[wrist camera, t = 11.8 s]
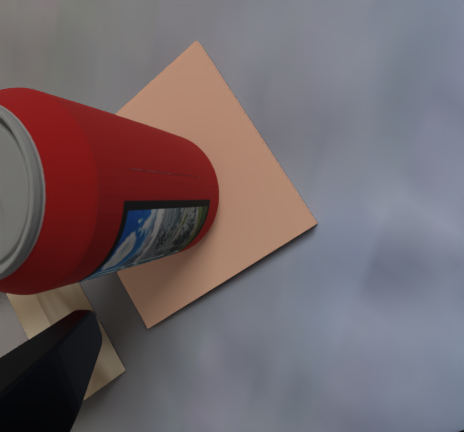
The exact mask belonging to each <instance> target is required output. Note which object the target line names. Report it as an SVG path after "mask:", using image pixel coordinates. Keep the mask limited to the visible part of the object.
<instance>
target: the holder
mask: <svg viewBox="0 0 464 432" xmlns="http://www.w3.org/2000/svg"><path fill="white" fill-rule="evenodd" d="M6 294H7V296H8V298H9V300H10V302H11V304H12V306H13V308H14V310H15V312H16V314H17V316H18V318H19V320H20V322H21V324H22V326H23V328H24V330H25V332H26V334H27V336H28V338H29V339H31V338H32V337H34V336H35V335H37V334H39V333H40V332H42V331H43V330H45V329H46V328H48V327H49V326H51V325H53V324H54V323H56V322H57V321H59V320H60V319H62V318H64V317H65V316H67V315H68V314H70V313H71V312H73V311H75V310H79V309H81V310H93V308H92V306H91V304H90V303H89V301H88V299H87V297H86V295H85V293H84V291H83V289H82V288H81V286H80V284H79V282H78V283H74V284H71V285H67V286H63V287H60V288H56V289H53V290H49V291H45V292H42V293H38V294H33V295H15V294H9V293H6ZM93 311H94V310H93ZM97 320H98V323H99V326H100V330H101V333H102V346H101V349H100V352H99V355H98V358H97V361H96V364H95V367H94V370H93V373H92V376H91V379H90V382H89V385H88V388H87V391H86V394H85V397H84V400H85V399H86V398H88V397H89V396H91V395H92V394H94V393H95V392H96V391H98V390H99V389H101V388H102V387H103V386H105V385H106V384H108V383H109V382H110V381H112V380H113V379H115V378H116V377H117V376H119V375H120V374H122V373H123V372H124V371H126V370H125V368H124V366H123V364H122V363H121V361H120V359H119V357H118V355H117V353H116V351H115V349H114V348H113V346H112V344H111V342H110V340H109V338H108V336H107V334H106V333H105V331H104V329H103V327H102V325H101V323H100V321H99V319H98V318H97Z"/></svg>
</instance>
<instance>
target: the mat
mask: <svg viewBox="0 0 464 432" xmlns="http://www.w3.org/2000/svg"><path fill="white" fill-rule="evenodd" d="M115 115H118V116H121V117H124V118H127V119H130V120H133V121H136V122H139V123H142V124H145V125H148V126H151V127H154V128H157V129H160V130H163V131H166V132H169V133H172V134H175V135H178V136H181V137H183V138H186V139H188V140H189V141H191V142H193V143H194V144H196V145H197V146H198V147H199V148H200V149H201V150H202V151H203V152H204V153H205V154H206V156H207V157H208V159H209V160H210V162H211V164H212V165H213V168H214V170H215V173H216V176H217V179H218V185H219V204H218V210H217V214H216V217H215V219H214V222H213V224H212V226H211V227H210V229H209V231H208V232H207V233H206V235H205V236H204V237H203V238H202V239H201V240H200V241H199V242H198V243H197V244H195V245H194V246H193V247H191V248H189V249H187V250H185V251H182V252H179V253H176V254H173V255H170V256H167V257H164V258H161V259H157V260H154V261H151V262H147V263H144V264H141V265H137V266H134V267H131V268H127V269H124V270H120V271H117V274H118V276H119V278H120V279H121V281H122V283H123V285H124V287H125V289H126V290H127V292H128V294H129V296H130V298H131V299H132V301H133V303H134V305H135V307H136V308H137V310H138V312H139V314H140V316H141V317H142V319H143V321H144V323H145V325H146V327H147V328H148V329H149V328H150V327H152V326H154V325H155V324H157V323H158V322H160V321H162V320H163V319H165V318H166V317H168V316H170V315H171V314H173V313H175V312H176V311H178V310H179V309H181V308H183V307H184V306H186V305H187V304H189V303H191V302H192V301H194V300H195V299H197V298H199V297H200V296H202V295H203V294H205V293H207V292H208V291H210V290H212V289H213V288H215V287H216V286H218V285H220V284H221V283H223V282H224V281H226V280H228V279H229V278H231V277H232V276H234V275H236V274H237V273H239V272H240V271H242V270H244V269H245V268H247V267H248V266H250V265H252V264H253V263H255V262H257V261H258V260H260V259H261V258H263V257H265V256H266V255H268V254H269V253H271V252H273V251H274V250H276V249H277V248H279V247H281V246H282V245H284V244H285V243H287V242H289V241H290V240H292V239H293V238H295V237H297V236H298V235H300V234H302V233H303V232H305V231H306V230H308V229H310V228H311V227H313V226H314V225H316V224H318V223H317V221H316V220H315V218H314V217H313V215H312V214H311V212H310V211H309V209H308V207H307V206H306V204H305V203H304V201H303V200H302V198H301V197H300V195H299V194H298V192H297V191H296V189H295V188H294V186H293V185H292V183H291V181H290V180H289V178H288V177H287V175H286V174H285V172H284V171H283V169H282V168H281V166H280V165H279V163H278V162H277V160H276V159H275V157H274V156H273V154H272V152H271V151H270V149H269V148H268V146H267V145H266V143H265V142H264V140H263V139H262V137H261V136H260V134H259V133H258V131H257V130H256V128H255V126H254V125H253V123H252V122H251V120H250V119H249V117H248V116H247V114H246V113H245V111H244V110H243V108H242V107H241V105H240V104H239V102H238V101H237V99H236V97H235V96H234V94H233V93H232V91H231V90H230V88H229V87H228V85H227V84H226V82H225V81H224V79H223V78H222V76H221V75H220V73H219V71H218V70H217V68H216V67H215V65H214V64H213V62H212V61H211V59H210V58H209V56H208V55H207V53H206V52H205V50H204V49H203V47H202V45H201V44H200V43H199V42H197V41H195V42H194V43H193V44H192V45H191V46H190V47H189V48H188V49H186V50H185V51H184V52H183V53H182V54H181V55H180V56H179V57H178V58H177V59H175V60H174V61H173V62H172V63H171V64H170V65H169V66H168V67H167V68H166V69H164V70H163V71H162V72H161V73H160V74H159V75H158V76H157V77H156V78H155V79H153V80H152V81H151V82H150V83H149V84H148V85H147V86H146V87H145V88H144V89H142V90H141V91H140V92H139V93H138V94H137V95H136V96H135V97H134V98H133V99H131V100H130V101H129V102H128V103H127V104H126V105H125V106H124V107H123V108H121V109H120V110H119V111H118V112H117V113H116V114H115Z"/></svg>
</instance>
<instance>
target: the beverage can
mask: <svg viewBox="0 0 464 432" xmlns="http://www.w3.org/2000/svg"><path fill="white" fill-rule="evenodd" d="M218 204H219V185H218V179H217V176H216V173H215V170H214V168H213V165H212V164H211V162H210V160H209V159H208V157H207V156H206V154H205V153H204V152H203V151H202V150H201V149H200V148H199V147H198V146H197V145H196V144H194V143H193V142H191V141H189V140H188V139H186V138H183V137H181V136H178V135H175V134H172V133H169V132H166V131H163V130H160V129H157V128H154V127H151V126H148V125H145V124H142V123H139V122H136V121H133V120H130V119H127V118H124V117H121V116H118V115H115V114H111V113H108V112H105V111H102V110H99V109H96V108H93V107H89V106H86V105H83V104H80V103H76V102H73V101H70V100H67V99H63V98H60V97H57V96H53V95H50V94H47V93H44V92H40V91H37V90H34V89H29V88H8V89H2V90H0V291H1V292H4V293H9V294H15V295H33V294H38V293H42V292H45V291H49V290H53V289H56V288H60V287H63V286H67V285H71V284H74V283H78V282H82V281H85V280H89V279H93V278H96V277H100V276H103V275H106V274H110V273H113V272H117V271H120V270H124V269H127V268H131V267H134V266H137V265H141V264H144V263H147V262H151V261H154V260H157V259H161V258H164V257H167V256H170V255H173V254H176V253H179V252H182V251H185V250H187V249H189V248H191V247H193V246H194V245H195V244H197V243H198V242H199V241H200V240H201V239H202V238H203V237H204V236H205V235H206V233H207V232H208V231H209V229H210V227H211V226H212V224H213V222H214V219H215V217H216V214H217V210H218Z"/></svg>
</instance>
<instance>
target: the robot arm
mask: <svg viewBox="0 0 464 432" xmlns="http://www.w3.org/2000/svg"><path fill="white" fill-rule="evenodd" d="M101 346H102V333H101V330H100V326H99V323H98V320H97V316H96V314H95V312H94V311H93V310H81V309H79V310H75V311H73V312H71V313H70V314H68V315H67V316H65V317H64V318H62V319H60V320H59V321H57V322H56V323H54V324H53V325H51V326H49V327H48V328H46V329H45V330H43V331H42V332H40V333H39V334H37V335H35V336H34V337H32V338H31V339H29V340H28V341H26V342H24V343H23V344H21V345H20V346H18V347H17V348H15V349H14V350H12V351H10V352H9V353H7V354H6V355H4V356H3V357H1V358H0V432H70V431H71V428H72V426H73V424H74V422H75V420H76V417H77V415H78V413H79V410H80V408H81V405H82V402H83V400H84V397H85V394H86V391H87V388H88V385H89V382H90V379H91V376H92V373H93V370H94V367H95V364H96V361H97V358H98V355H99V352H100V349H101ZM460 432H464V430H463V431H460Z"/></svg>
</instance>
